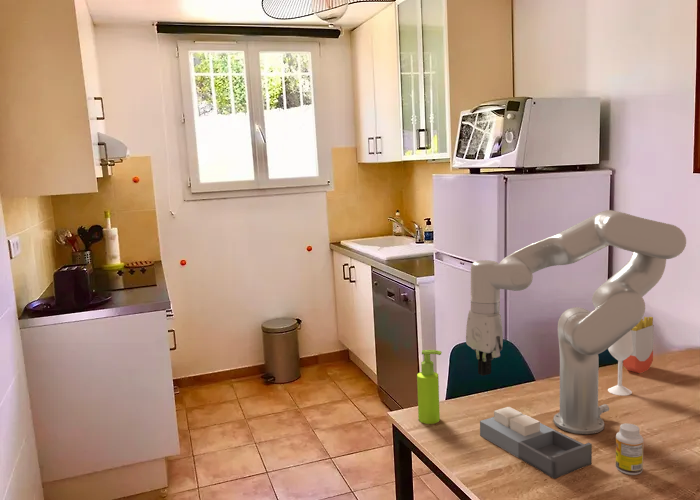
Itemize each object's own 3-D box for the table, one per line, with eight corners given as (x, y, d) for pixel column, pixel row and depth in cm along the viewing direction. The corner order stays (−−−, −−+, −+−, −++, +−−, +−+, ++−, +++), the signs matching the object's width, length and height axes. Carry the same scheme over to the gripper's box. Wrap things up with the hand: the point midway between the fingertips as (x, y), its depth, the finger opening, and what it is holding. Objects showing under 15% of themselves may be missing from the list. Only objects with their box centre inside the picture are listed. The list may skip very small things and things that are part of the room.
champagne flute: (607, 394, 172) (609, 316, 168) (607, 386, 178) (608, 310, 175) (632, 396, 169) (634, 317, 166) (631, 388, 175) (632, 312, 172)
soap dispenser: (442, 424, 157) (441, 354, 154) (417, 423, 158) (415, 353, 155) (443, 415, 162) (441, 347, 160) (419, 414, 164) (417, 347, 161)
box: (554, 445, 142) (554, 426, 142) (591, 464, 133) (591, 443, 132) (518, 458, 137) (518, 438, 136) (553, 478, 127) (553, 457, 127)
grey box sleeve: (514, 424, 155) (514, 410, 154) (554, 445, 142) (554, 430, 142) (480, 435, 149) (479, 421, 149) (518, 458, 137) (518, 442, 136)
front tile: (525, 423, 146) (525, 414, 146) (540, 431, 142) (539, 421, 141) (510, 428, 144) (510, 419, 143) (524, 436, 139) (524, 426, 139)
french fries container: (621, 371, 189) (622, 319, 187) (639, 364, 195) (640, 313, 193) (635, 375, 185) (636, 321, 183) (653, 367, 191) (654, 315, 189)
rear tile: (508, 415, 151) (508, 406, 151) (522, 422, 147) (522, 413, 146) (494, 419, 149) (494, 410, 149) (507, 427, 145) (507, 417, 144)
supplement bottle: (619, 461, 133) (620, 419, 132) (645, 468, 130) (646, 425, 128) (612, 471, 129) (612, 428, 128) (639, 478, 126) (640, 434, 124)
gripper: (456, 303, 156) (456, 368, 159) (493, 315, 143) (492, 385, 145) (477, 300, 159) (477, 363, 162) (516, 311, 146) (515, 379, 149)
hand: (484, 373), depth 154 cm, fingers closed
